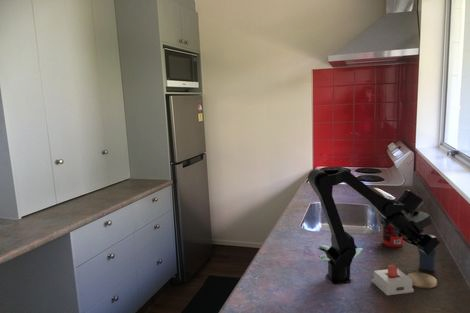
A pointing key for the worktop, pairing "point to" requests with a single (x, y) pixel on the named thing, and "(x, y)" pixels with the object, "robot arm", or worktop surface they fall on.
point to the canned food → (391, 237)
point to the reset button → (392, 271)
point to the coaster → (422, 280)
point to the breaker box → (392, 282)
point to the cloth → (329, 247)
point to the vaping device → (426, 261)
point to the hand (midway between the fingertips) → (429, 250)
